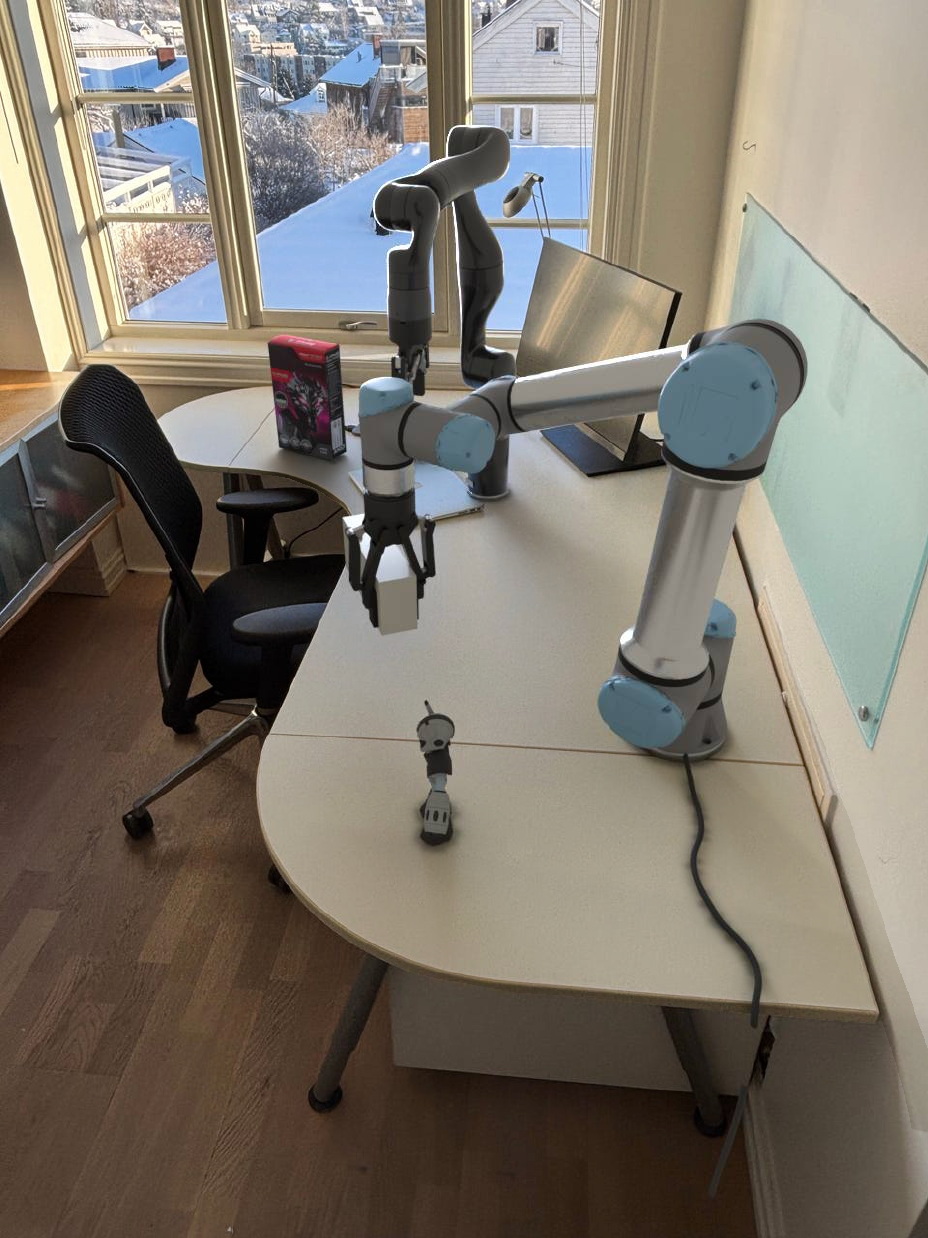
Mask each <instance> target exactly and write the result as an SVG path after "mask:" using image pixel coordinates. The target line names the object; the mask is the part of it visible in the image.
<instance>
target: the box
mask: <svg viewBox="0 0 928 1238" xmlns="http://www.w3.org/2000/svg"><path fill="white" fill-rule="evenodd" d="M364 516H365V513H359V514H354V515H348V516H342V529H343V542H344V545H343V546H344V558H345V568H346V570H347V571H348V572H349V540H348V538H347V536H346V533H345V529H346V528H347V527H351V528H352V529H353V528H355V527H357V526H360V525H362V521H363V519H364ZM370 540H371V537H370V536H369V535H368V534H367V533H364V534H363V539H362V542H361V543H360V547H361V577H362V574H363V570H364V566H365V563H366V559H367V556H368V552H369V548H370ZM360 579H361V578H360ZM373 586H374V588H375V590H376V592H377V605H378V625H379V627H378V628H377V630H378V631H379V634H380V635H381V636H382V637H383V636H387V635H393V634H396V633H397V634H398V633H403V632H407V631H413V630H417V629H418V620H417V584H416V575H415V573H414V571H413V570H412V568H411V567H410V565H409V562H408V560H407V558H406V556H405V555H404V554H403V552H402V551H401V549H400V547H399V545H391V546H389V547H385V550H384V553H383V554H382V556H381V560H380V563H379V567H378V570H377V574H376V577H375V581H374V584H373ZM358 593H359V595H360V597H361V598H362V591H360V590H359V591H358ZM367 611H369V609H367Z"/></svg>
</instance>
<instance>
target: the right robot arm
mask: <svg viewBox="0 0 928 1238" xmlns="http://www.w3.org/2000/svg"><path fill="white" fill-rule="evenodd" d="M808 363H809V362H808V358H807V353H806V350H805V348H804V346H803V344H802V342H801V340H800V339H799V338H798V336H797V335H796V334H795V333H794V332H793V331H792V330H791V329H789V328H788V327H787V326H785V325H784V324H782V323H779V322H777V321H775V320H771V319H766V318H752V319H746V320H743V321H742V320H741V321H739V322H736V323H733V324H730V325H726V326H722V327H718V328H715V329H711V330H707V331H702V332H697V333H694V334H693V335H692V336H691V337H690V339H689V340H688V342H687V343H685V344H679V345H675V346H670V347H666V348H660V349H655V350H651V351H645V352H640V353H636V354H630V355H626V356H620V357H616V358H611V359H606V360H605V359H604V360H601V361H596V362H591V363H586V364H580V365H576V366H571V367H566V368H560V369H555V370H551V371H545V372H541V373H536V374H531V375H526V376H521V377H518V376H516V377H515V376H511V375H508V376H503V377H500V378H497V379H494V380H491V381H489V382H488V383H487V384H485V385H484V386H482V387H481V388H479V389H474V391H472V392H470V393H468V394H467V395H465V396H463V397H461V398H460V399H457V400H455V401H454V402H452V403H450V404H448V405H447V406H445V407H438V406H434V405H429V404H427V403H426V404H425V403H423V402H419V401H416V400H415V395H413V384H412V383H411V384H410V383H409V382H406V381H405V380H404V379H400V378H394V377H391V376H382V377H376V378H375V377H374V378H372V379H370V380H368V381H366V382H365V381H364V383H362V385H360V388H359V390H358V413H357V418H358V424H359V435H360V445H361V454H360V455H361V469H362V470H361V471H362V473H361V474H362V485H363V490H362V494H363V511H364V513H363V514H365V516H364V519H363V521H362V525H360V526H357V527H355V528H353V529H352V528H351V527H347V528H346V529H345V533H346V536H347V538H348V540H349V571H348V583H349V585H350V587H351V589H352V590H353V592H359V590H360V591H362V597H361V602H362V605H363V606H364V608H365V610H368V609H369V610H368V619H369V621H370V623H371V625H372V627H373V629H376V628H377V629H378V627H379V625H378V605H377V592H376V590H375V588H374V586H373V584H374V581H375V577H376V574H377V570H378V567H379V563H380V560H381V556H382V554H383V553H384V550H385V547H389V546H391V545H397V546H400V545H401V547H402V550H403V552H404V556H405V558H406V560H407V562H408V563H409V565H410V567H411V568H412V570H413V571H414V573H415V575H416V584H417V621H419V620H420V605H419V604H420V603H419V601H420V599H424V598H425V585H426V584H427V579H429V578H434V577H435V576H436V575H437V571H436V557H435V546H434V545H435V544H434V532H435V529H436V525H437V524H436V521H435V519H434V518H433V517H432V515H431V514H430V513H425V514H424V515H418V514H417V512H416V487H415V484H416V471H415V470H416V469H415V460H417V461H421V462H423V463H427V464H430V465H432V466H436V467H439V468H443V469H445V470H447V471H451V472H460V473H465V474H468V473H469V474H474V473H477V472H479V471H481V470H482V469H483V468H484V467H485V466H486V463H487V461H489V460H490V458H491V456H492V453H493V449H494V444H495V441H496V440H498V439H500V438H501V437H503V436H506V435H510V436H511V435H515V434H521V433H529V432H532V431H538V430H545V429H552V428H553V429H554V428H560V427H565V426H571V425H572V426H573V425H578V424H584V423H592V422H597V421H598V422H599V421H604V420H611V419H617V418H623V417H624V418H625V417H631V416H637V415H643V414H650V413H656V412H657V421H658V427H659V432H660V434H661V435H663V440H662V445H661V449H660V453H661V454H660V455H661V458H662V459H663V462H665V464H666V465H667V466H668V467H669V469H670V471H669V476H668V480H667V485H666V488H665V493H664V498H663V502H662V507H661V511H660V515H659V520H658V525H657V528H656V534H655V537H654V542H653V546H652V551H651V556H650V560H649V563H648V564H649V565H648V568H647V573H646V577H645V582H644V587H643V591H642V595H641V600H640V604H639V605H640V606H639V608H638V612H637V613H638V614H637V618H636V623H635V625H633V626H631V627H629V628H627V629H626V630H625V631H624V632H623V634H622V636H621V637H620V641H619V645H618V651H617V655H616V659H615V664H614V668H613V671H612V672H611V675H610V677H609V678H607V679H606V680H605V681H604V682H603V683H602V685H601V688H600V690H599V693H598V695H597V709H598V711H599V715H600V717H601V718H602V720H603V722H604V723H605V724H606V725H607V726H609V730H611V731H612V732H613V733H614V734H615V735H616V736H618V737H619V738H620V739H621V740H623V741H625V742H627V743H628V744H631V745H633V746H636V747H639V748H640V749H641V750H643V751H645V752H646V753H648V754H650V755H651V756H654V757H656V758H659V759H662V760H666V761H670V762H675V763H684V767H685V768H684V769H685V772H686V777H687V778H686V779H687V782H688V787H689V791H690V795H691V799H692V802H693V806H694V808H695V813H696V816H697V826H698V827H697V828H698V829H697V833H696V838H695V841H694V843H693V845H692V849H691V853H690V862H689V863H690V870H691V875H692V879H693V882H694V885H695V887H696V889H697V892H698V893H699V895H700V897H701V899H702V900H703V902H704V904H705V905H706V907H707V909H708V910H709V912H710V914H711V915H712V917H713V918H714V920H715V921H716V922H717V924H718V925H719V926H720V927H721V928H722V929H723V931H725V932H726V934H728V936H729V937H731V939H732V940H733V941H734V942H735V943H736V944H737V945H738V946H739V947H740V949H742V951H743V952H744V953H745V955H746V957H747V958H748V961H749V962H750V965H751V967H752V970H753V975H754V986H753V993H752V999H751V1007H750V1019H749V1020H750V1022H749V1023H750V1027H751V1028H752V1029H754V1030H756V1029H758V1027H759V1009H760V1002H761V996H762V988H763V978H762V971H761V968H760V965H759V962H758V960H757V958H756V957H757V956H756V955H755V953H754V952H753V950H752V949H751V947H750V946H749V945H748V944H747V943H746V941H745V940H744V939H743V938H742V937H741V935H739V934H738V932H737V931H736V930H734V929H733V928H732V927H731V926H730V925H729V924H728V923H727V922H726V920H725V919H724V918H723V917H722V915H721V914H720V912H719V911H718V909H717V908H716V906H715V905H714V903H713V901H712V900H711V897H709V895H708V893H707V891H706V889H705V887H704V885H703V882H702V881H701V878H700V875H699V871H698V863H697V859H698V853H699V850H700V847H701V845H702V842H703V839H704V834H705V819H704V813H703V810H702V807H701V804H700V800H699V797H698V793H697V789H696V786H695V781H694V776H693V772H692V771H693V770H692V766H691V763H694V762H700V761H703V760H706V759H709V758H711V757H714V755H716V754H718V752H720V751H721V750H722V748H723V747H724V744H725V743H726V740H727V739H726V738H727V734H728V721H727V716H726V712H725V708H724V707H725V706H724V701H723V692H724V686H725V682H726V678H727V674H728V673H727V672H728V668H729V664H730V659H731V654H732V651H733V650H732V649H733V645H734V639H735V637H736V636H737V623H738V622H737V621H738V620H737V616H736V613H735V612H734V611H733V609H731V608H730V607H729V606H728V604H726V603H724V602H723V601H721V600H719V599H717V598H715V596H716V592H717V589H718V585H719V582H720V579H721V575H722V571H723V568H724V565H725V560H726V557H727V553H728V550H729V546H730V544H731V543H730V542H731V539H732V536H733V533H734V528H735V525H736V520H737V518H738V514H739V510H740V506H741V505H742V501H743V497H744V493H745V488H746V486H747V485H748V484H749V483H751V482H753V481H755V480H757V479H759V478H761V477H762V476H763V474H764V472H765V470H766V468H767V467H766V466H767V463H768V459H769V457H770V453H771V450H772V447H773V443H774V440H775V436H776V433H777V429H778V426H779V423H780V421H781V420H782V418H783V417H784V416H785V414H786V413H787V412H788V411H789V410H790V409H791V408H792V407H793V405H794V404H795V403H796V402H797V401H798V400H799V398H800V397H801V394H802V393H803V390H804V388H805V387H806V383H807V382H806V381H807V377H808ZM416 527H418V528H419V530H420V541H421V555H422V566H423V567H421V565H420V562H419V560H418V557H417V554H416V552H415V549H414V546H413V543H412V540H411V538H410V536H411V535H412V534H413V532H414V530H415V529H416ZM364 533H367V534H368V535H369V536H370V537H371V540H370V548H369V552H368V556H367V559H366V563H365V566H364V570H363V574H362V577H361V547H360V543H361V542H362V539H363V534H364ZM360 578H361V579H360ZM748 1092H749V1086H747V1085H744V1084H741V1085H740V1089H739V1094H738V1099H737V1102H736V1106H735V1110H734V1113H733V1117H732V1120H731V1124H730V1127H729V1129H728V1132H727V1136H726V1138H725V1141H724V1144H723V1148H722V1149H721V1153H720V1156H719V1158H718V1162H717V1164H716V1167H715V1170H714V1173H713V1176H712V1179H711V1183H710V1186H709V1189H708V1192H707V1194H708V1196H709V1197H710V1198H714V1197H715V1195H716V1192H717V1188H718V1185H719V1181H720V1178H721V1176H722V1172H723V1170H724V1167H725V1164H726V1161H727V1159H728V1156H729V1154H730V1151H731V1148H732V1145H733V1143H734V1139H735V1137H736V1134H737V1131H738V1128H739V1125H740V1121H741V1119H742V1116H743V1111H744V1108H745V1104H746V1100H747V1095H748Z"/></svg>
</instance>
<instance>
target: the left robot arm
mask: <svg viewBox="0 0 928 1238" xmlns="http://www.w3.org/2000/svg"><path fill="white" fill-rule="evenodd" d="M511 154H512V149H511V141H510V138H509V135H508V133H507V132H506V131H505V130H504V129H502V128H501V127H499V126H498V127H497V126H492V125H456V126H454V127H452V128H451V129H450V131H449V134H448V136H447V142H446V157H445V158H442V159H441V158H440V159H439V160H436V161H433V162H431V163H430V164H428V165H427V166H425V167H424V168H422V169H420V170H419V171H418V172H416V173H415V174H410V175H405V176H403V177H399V178H396V179H395V178H394V179H392V180H390V181H387V182H386V183H385V184H383V185H382V186H381V187H380V189H379V190H378V191H377V193H376V194H375V197H374V200H373V215H374V218H375V220H376V221H377V223H378V224H379V226H381V228H383V229H385V230H387V231H390V232H402V233H410V234H412V239H411V241H410V244H406V245H399V246H395V247H393V248H391V249H389V251H388V252H387V256H386V257H387V258H386V263H387V264H386V265H387V267H386V268H387V298H386V305H387V307H386V308H387V332H388V333H387V334H388V340H389V342H391V343H393V344H395V345H397V346H398V350H397V352H396V356H391V358H390V371H391V376H390V377H394V378H400V379H404V380H405V381H406V382H409V383H410V384H411V385H412V388H413V395H414V397H423V396H425V394H426V375H427V373H428V371H427V369H430V367H431V365H430V364H431V363H430V343H429V342H431V340H432V338H433V333H432V332H433V327H432V325H433V322H432V321H433V320H432V319H433V318H432V317H433V316H432V311H433V310H432V294H431V282H430V280H431V277H430V276H431V275H430V263H431V262H430V261H431V254H432V248H433V244H434V238H435V235H436V231H437V228H438V224H439V219H440V213H441V212H442V211H443V210H444V209H446V208H448V207H449V205H451V204H452V207H453V217H454V227H455V228H454V229H455V243H456V266H457V281H458V290H459V303H460V304H459V305H460V306H459V307H460V351H459V352H460V353H459V355H460V356H459V357H460V358H459V364H460V365H459V366H460V367H459V369H460V375H461V376H460V377H461V378H462V382H463V383H464V384H465V385H466V386H467V387H469V388H470V389H474V390H477V389H479V388H481V387H482V386H484V385H485V384H487V383H488V382H489V381H491V380H494V379H497V378H500V377H503V376H508V375H511V376H515V377H517V362H516V358H515V356H514V355H513V353H512V352H510V351H508V350H504V349H500V348H496V347H492V346H489V345H488V344H487V334H486V333H487V322H488V319H489V316H490V314H491V313H492V311H493V309H494V308H495V306H496V304H497V303H498V300H499V299H500V297H501V295H502V293H503V289H504V285H505V264H504V263H505V262H504V251H503V248H502V245H501V243H500V240H499V239H498V237H497V235H496V233H495V231H494V230H493V229H492V227H491V225H490V224H489V222H488V220H487V219H486V217H485V216H484V214H483V213H482V210H481V208H480V206H479V202H478V199H477V194H476V190H477V189H479V188H481V187H484V186H485V185H489V184H491V183H494V182H495V183H496V182H497V181H500V180H501V179H503V177H505V175H506V174H507V173H508V171H509V167H510V164H511V158H512V157H511V156H512V155H511ZM510 436H511V434H510V435H506V436H503V437H501V438H500V439H498V440H496V441H495V444H494V449H493V453H492V456H491V458H490V460H489V461H487V463H486V466H485V467H484V468H483V469H482V470H481V471H479V472H477V473H474V474H469V473H467V477H465V483H466V484H467V485H466V488H467V487H468V490H469V491H470V492H472V494H471V493H470V492H469V491H468V490H467V489H466V493H467V495H468V496H469V497H470V498H473V499H475V500H479V501H496V500H500V499H503V498H505V497H506V496H507V495H508V493H509V486H508V483H509V463H510V461H509V460H510Z"/></svg>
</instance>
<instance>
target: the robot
mask: <svg viewBox="0 0 928 1238" xmlns="http://www.w3.org/2000/svg"><path fill="white" fill-rule="evenodd" d="M423 704H424V706H425V708H426V711H427V714H428V715H426V716H424V717H423V718H422V719H421V720H419V721H418V724H417V726H416V728H415V730H416V733H417V736H416V737H417V738H418V741H419V751H420V752H421V753H423V757H424V760H425V762H426V778H427V779H428V782H429V784H430V787H431V788H430V789H429V792H428V794H427V798H426V799H425V801H424V802H423V803H422V804H421V805H420V807H419V813H420V815H421V818H423V827H422V828H421V829H422V830H421V831H420V834H419V838H420V839H421V840H422V841H423V842H424V843H425V845H429V846H440V845H442V844H444V843H447V842H449V841H451V839H452V836H453V833H454V831H453V830H454V829H453V822H452V819H451V815H452V814H453V811H452V802H451V799H450V795H449V793H447V791H446V785H447V784H448V778H447V775H448V776H453V760H452V757H451V755H450V746H452V743H451V739H454V738H453V737H454V736H455V731H456V727H455V723H454V721H453V719H452V718H450V717H449V716H447V715H445V714H444V713H441V712H435V711H434V710H433V708H432V707H431V705H430V702H429V701H428V700H427V699H425V700H424V703H423Z"/></svg>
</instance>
